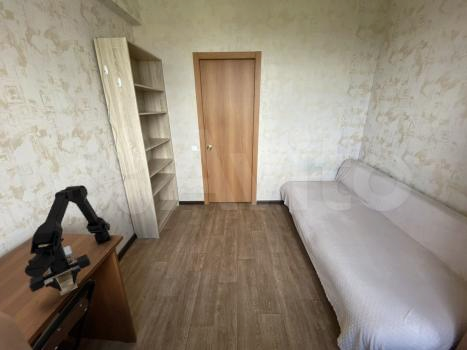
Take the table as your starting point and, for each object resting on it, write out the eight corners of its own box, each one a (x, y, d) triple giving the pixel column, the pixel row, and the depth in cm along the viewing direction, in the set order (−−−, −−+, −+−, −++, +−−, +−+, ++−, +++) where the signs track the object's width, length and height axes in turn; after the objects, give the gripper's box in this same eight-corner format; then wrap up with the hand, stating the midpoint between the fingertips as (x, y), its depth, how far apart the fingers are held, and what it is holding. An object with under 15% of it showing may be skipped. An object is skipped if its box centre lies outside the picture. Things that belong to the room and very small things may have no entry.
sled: (70, 267, 98) (66, 257, 96) (77, 287, 86) (73, 277, 84) (56, 273, 94) (51, 263, 92) (61, 296, 82) (56, 285, 80)
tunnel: (74, 258, 104) (69, 245, 101) (77, 266, 98) (72, 252, 96) (48, 269, 97) (42, 256, 94) (50, 278, 92) (44, 264, 89)
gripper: (80, 237, 91) (89, 265, 96) (22, 259, 79) (37, 290, 84) (85, 248, 84) (95, 277, 89) (23, 275, 71) (38, 307, 76)
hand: (68, 287), depth 85 cm, fingers closed on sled, 4 cm apart
